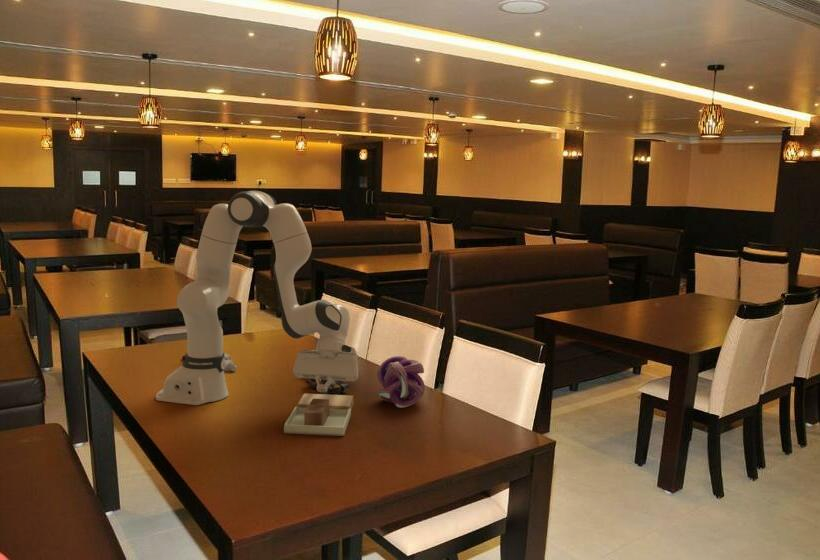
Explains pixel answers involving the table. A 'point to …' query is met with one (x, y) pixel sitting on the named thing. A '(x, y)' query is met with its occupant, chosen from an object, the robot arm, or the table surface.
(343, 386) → the figurine
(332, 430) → the tray
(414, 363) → the sculpture
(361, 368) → the table surface
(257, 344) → the table surface
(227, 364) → the male figure
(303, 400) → the oak board
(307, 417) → the walnut block
